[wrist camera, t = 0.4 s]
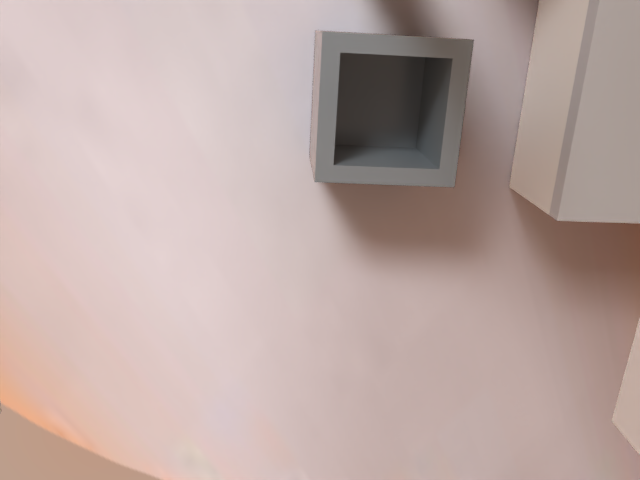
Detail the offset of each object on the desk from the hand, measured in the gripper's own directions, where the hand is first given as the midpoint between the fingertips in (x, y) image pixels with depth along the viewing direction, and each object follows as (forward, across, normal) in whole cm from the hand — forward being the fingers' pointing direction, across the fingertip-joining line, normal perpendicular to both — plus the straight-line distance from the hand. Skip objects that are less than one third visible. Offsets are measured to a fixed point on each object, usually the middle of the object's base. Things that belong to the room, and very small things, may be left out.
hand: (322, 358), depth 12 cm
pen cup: (+25, +4, +2) cm, 26 cm away
